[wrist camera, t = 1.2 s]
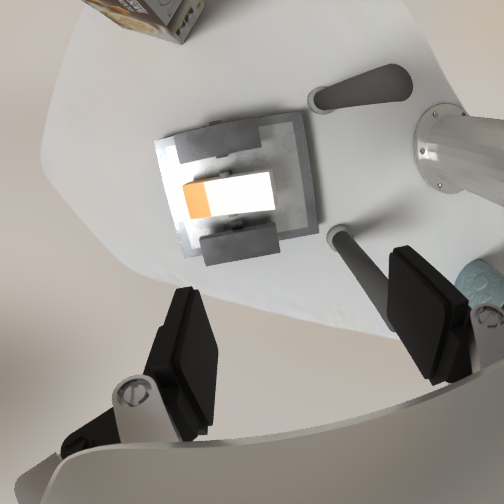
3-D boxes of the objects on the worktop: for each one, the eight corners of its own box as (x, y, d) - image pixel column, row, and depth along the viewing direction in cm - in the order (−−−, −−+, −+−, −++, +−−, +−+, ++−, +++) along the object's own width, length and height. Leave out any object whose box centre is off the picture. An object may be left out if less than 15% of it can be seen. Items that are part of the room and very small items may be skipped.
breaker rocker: (271, 164, 28) (268, 167, 26) (278, 208, 29) (276, 213, 28) (187, 178, 30) (180, 182, 29) (196, 217, 32) (190, 222, 30)
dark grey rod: (349, 222, 36) (421, 298, 20) (350, 245, 38) (416, 330, 21) (325, 227, 37) (385, 308, 20) (327, 250, 38) (382, 340, 21)
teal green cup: (480, 301, 43) (516, 337, 32) (443, 310, 43) (479, 353, 32) (493, 252, 39) (536, 284, 28) (456, 258, 39) (501, 296, 28)
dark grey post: (331, 87, 30) (412, 59, 13) (336, 113, 31) (421, 107, 14) (305, 89, 30) (368, 57, 13) (310, 115, 31) (377, 108, 15)
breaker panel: (296, 108, 31) (307, 105, 25) (314, 229, 37) (326, 247, 31) (158, 137, 31) (143, 139, 26) (188, 252, 37) (180, 274, 32)
